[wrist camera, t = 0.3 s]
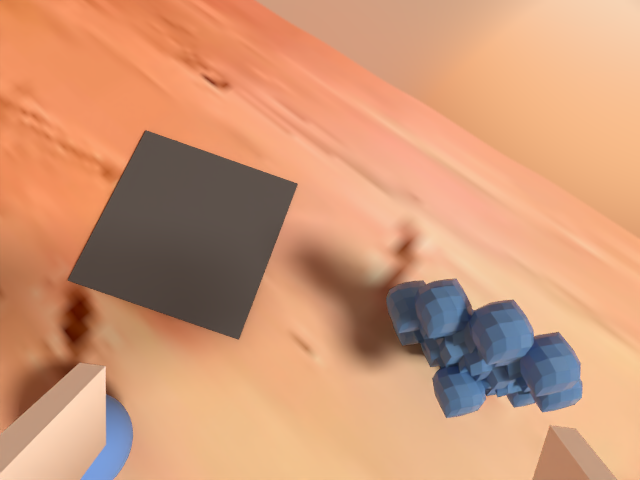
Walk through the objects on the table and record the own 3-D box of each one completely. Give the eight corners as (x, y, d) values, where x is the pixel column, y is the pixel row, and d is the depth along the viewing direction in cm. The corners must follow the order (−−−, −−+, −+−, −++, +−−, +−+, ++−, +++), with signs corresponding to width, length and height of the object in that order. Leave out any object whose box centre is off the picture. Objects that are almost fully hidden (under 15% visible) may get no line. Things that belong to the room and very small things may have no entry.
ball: (120, 497, 25) (79, 536, 19) (33, 467, 25) (-33, 498, 19) (159, 403, 26) (131, 416, 21) (77, 375, 26) (27, 380, 21)
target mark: (238, 339, 28) (238, 339, 28) (69, 280, 28) (67, 280, 27) (297, 184, 31) (297, 183, 31) (146, 131, 31) (145, 130, 31)
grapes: (335, 360, 28) (377, 366, 17) (379, 276, 30) (444, 227, 18) (486, 448, 28) (638, 516, 16) (521, 356, 30) (679, 358, 18)
